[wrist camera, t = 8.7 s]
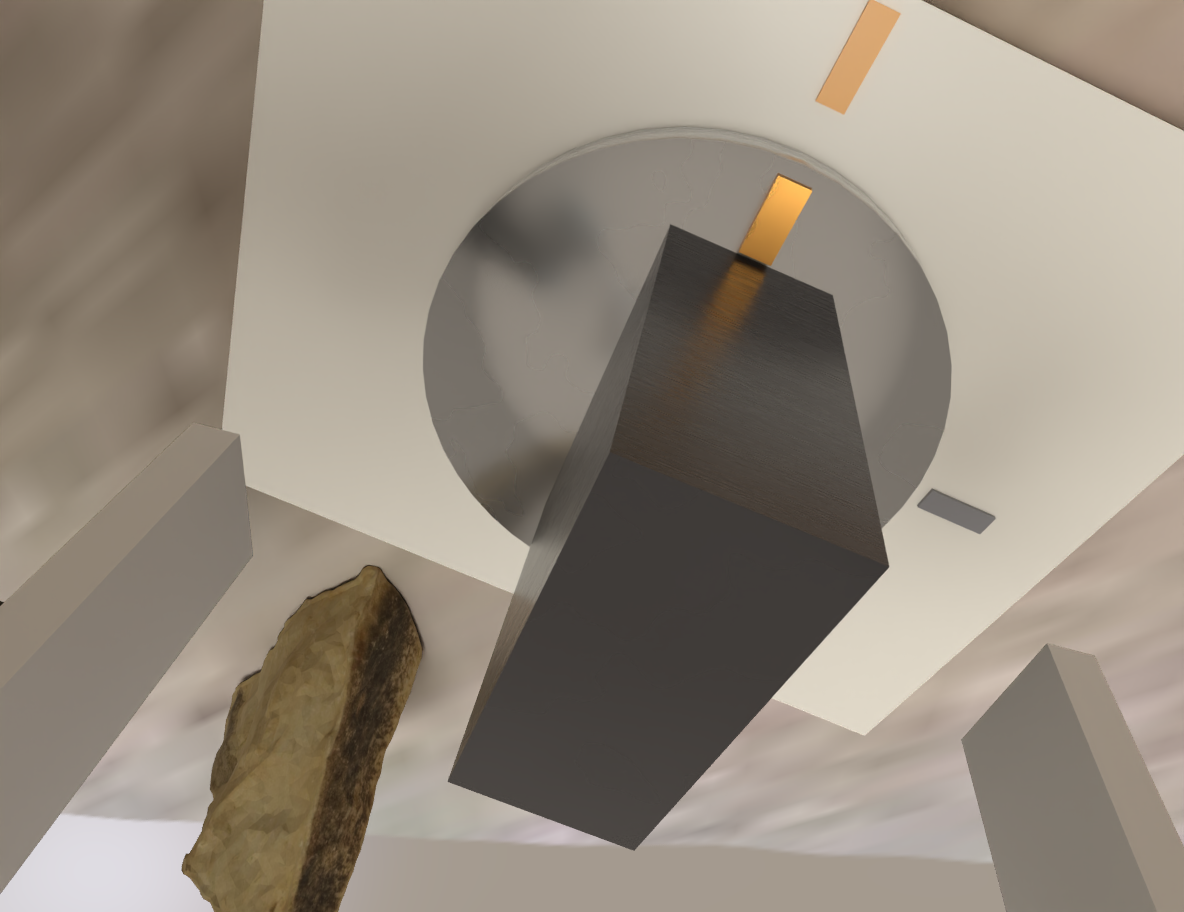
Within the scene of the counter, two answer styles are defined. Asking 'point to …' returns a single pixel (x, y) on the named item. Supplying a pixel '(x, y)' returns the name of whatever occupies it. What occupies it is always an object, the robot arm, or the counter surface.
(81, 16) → the counter surface
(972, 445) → the dial panel
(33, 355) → the counter surface
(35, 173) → the counter surface
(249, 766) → the rock
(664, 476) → the dial
